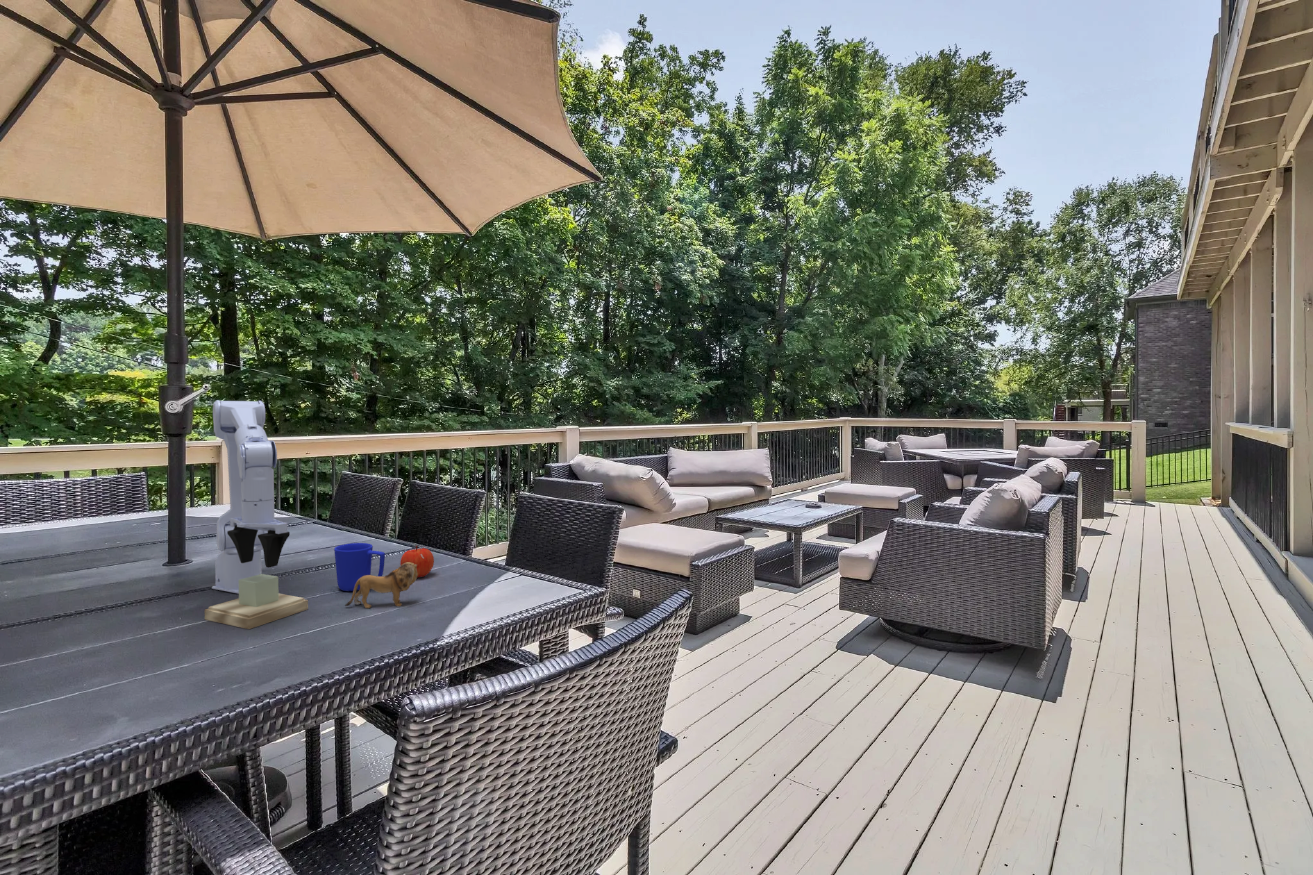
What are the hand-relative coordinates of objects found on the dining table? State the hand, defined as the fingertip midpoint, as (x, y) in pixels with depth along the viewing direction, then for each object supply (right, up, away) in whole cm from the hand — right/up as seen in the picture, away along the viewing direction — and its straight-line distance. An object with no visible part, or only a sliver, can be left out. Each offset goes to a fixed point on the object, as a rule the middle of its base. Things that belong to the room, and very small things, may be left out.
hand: (259, 564), depth 131 cm
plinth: (0, -10, 0) cm, 10 cm away
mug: (+13, -10, +18) cm, 24 cm away
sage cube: (0, -8, 0) cm, 8 cm away
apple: (+22, -9, +30) cm, 38 cm away
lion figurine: (+23, -11, +8) cm, 26 cm away
